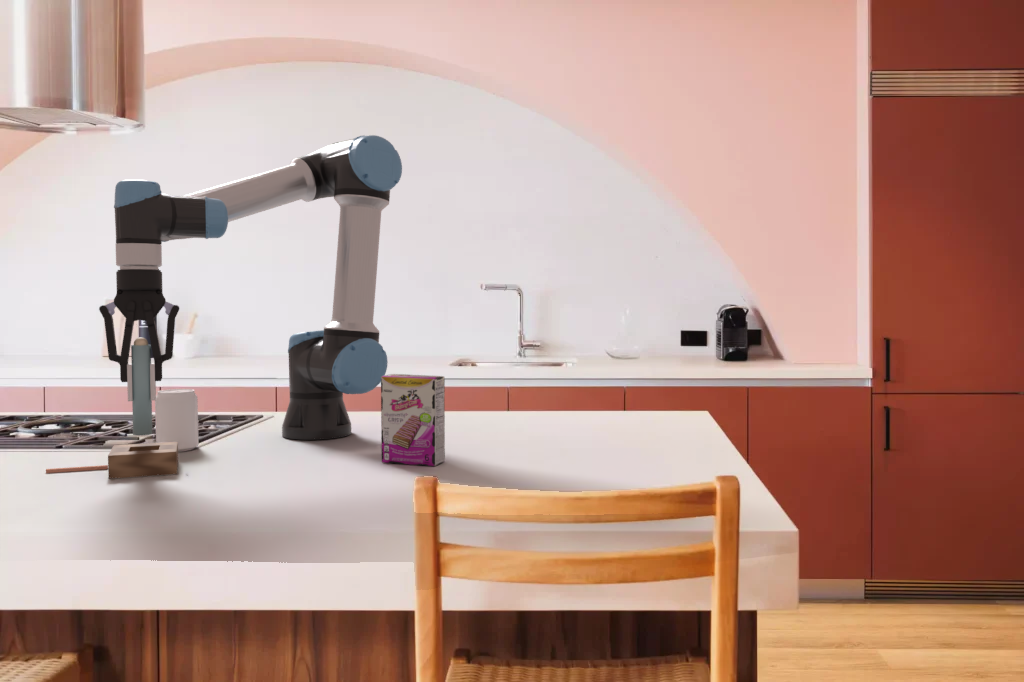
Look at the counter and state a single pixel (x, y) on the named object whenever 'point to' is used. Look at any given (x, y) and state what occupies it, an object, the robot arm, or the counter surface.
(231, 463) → the counter surface
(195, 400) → the beverage can
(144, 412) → the grey-green rod
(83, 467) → the copper rod
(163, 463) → the wooden block with hole
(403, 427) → the candy bar box
